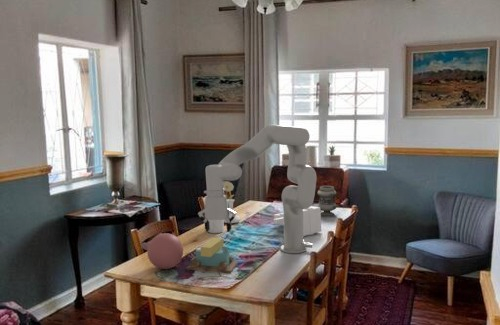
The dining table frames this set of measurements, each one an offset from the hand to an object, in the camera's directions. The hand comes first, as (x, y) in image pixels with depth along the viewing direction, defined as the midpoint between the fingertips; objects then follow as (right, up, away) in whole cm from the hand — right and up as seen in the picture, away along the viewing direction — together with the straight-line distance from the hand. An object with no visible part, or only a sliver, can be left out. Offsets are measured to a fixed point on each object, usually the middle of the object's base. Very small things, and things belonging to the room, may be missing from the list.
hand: (218, 230), depth 199 cm
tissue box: (+40, -8, +54) cm, 67 cm away
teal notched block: (-2, -15, 0) cm, 15 cm away
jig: (-2, -16, 0) cm, 16 cm away
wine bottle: (-5, -9, +53) cm, 54 cm away
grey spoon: (+2, -6, +72) cm, 72 cm away
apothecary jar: (+63, -3, +86) cm, 107 cm away
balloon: (-25, -16, 0) cm, 30 cm away
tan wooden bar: (-2, -9, -1) cm, 9 cm away
